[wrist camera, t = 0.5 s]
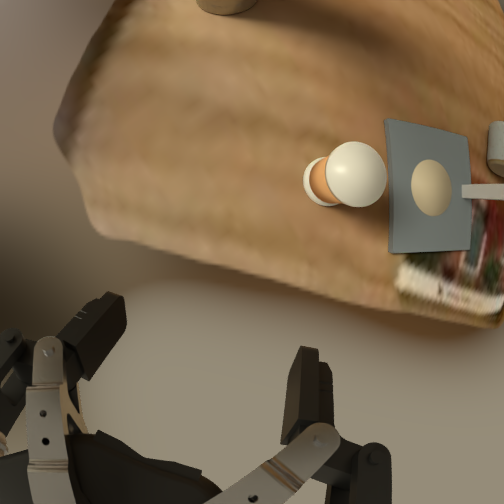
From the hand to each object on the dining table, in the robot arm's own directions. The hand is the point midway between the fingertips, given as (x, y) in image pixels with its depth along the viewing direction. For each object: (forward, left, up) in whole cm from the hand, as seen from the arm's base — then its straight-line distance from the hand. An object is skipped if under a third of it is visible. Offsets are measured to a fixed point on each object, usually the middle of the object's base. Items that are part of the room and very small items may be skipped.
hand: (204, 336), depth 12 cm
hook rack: (-8, +29, -23) cm, 38 cm away
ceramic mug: (-16, +47, -23) cm, 55 cm away
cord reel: (-8, +12, -23) cm, 27 cm away
